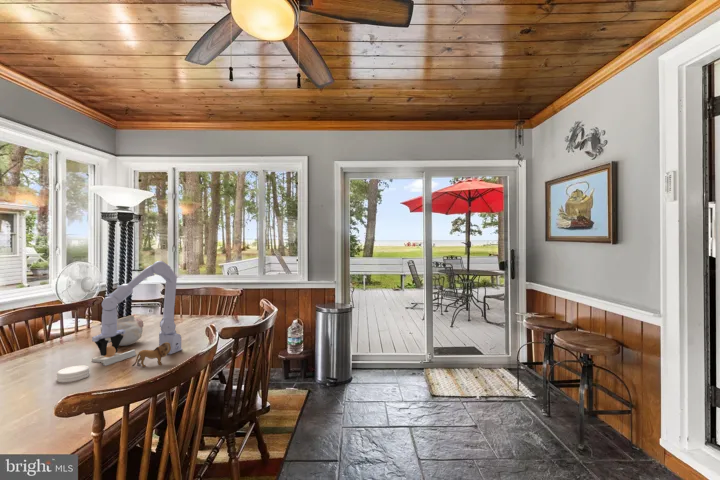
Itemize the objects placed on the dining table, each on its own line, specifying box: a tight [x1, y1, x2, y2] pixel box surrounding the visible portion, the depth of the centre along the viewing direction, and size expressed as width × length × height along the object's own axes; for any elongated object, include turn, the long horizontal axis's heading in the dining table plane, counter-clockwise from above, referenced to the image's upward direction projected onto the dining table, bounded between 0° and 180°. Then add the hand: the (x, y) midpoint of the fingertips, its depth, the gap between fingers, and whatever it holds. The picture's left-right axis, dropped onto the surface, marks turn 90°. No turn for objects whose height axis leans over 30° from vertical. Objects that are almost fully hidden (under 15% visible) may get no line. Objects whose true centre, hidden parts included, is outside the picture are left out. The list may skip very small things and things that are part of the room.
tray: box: [91, 352, 120, 364], centre depth 163 cm, size 9×9×1 cm
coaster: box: [56, 365, 90, 383], centre depth 141 cm, size 10×10×4 cm
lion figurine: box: [131, 342, 171, 368], centre depth 156 cm, size 15×5×9 cm, turn 118°
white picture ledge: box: [102, 349, 137, 367], centre depth 162 cm, size 2×15×2 cm, turn 165°
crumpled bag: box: [100, 315, 144, 347], centre depth 186 cm, size 16×19×15 cm
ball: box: [105, 345, 117, 357], centre depth 163 cm, size 5×5×5 cm
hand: (109, 353), depth 163 cm, fingers closed on ball, 5 cm apart
